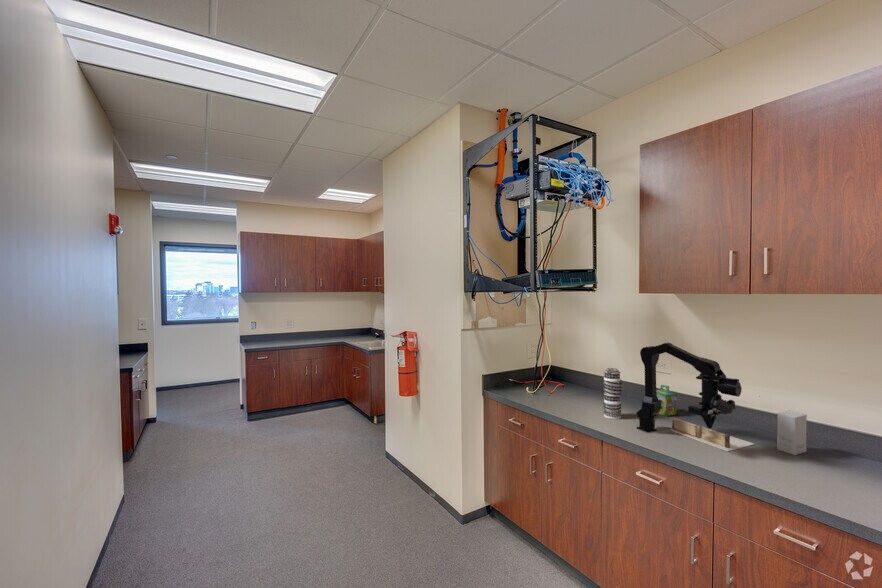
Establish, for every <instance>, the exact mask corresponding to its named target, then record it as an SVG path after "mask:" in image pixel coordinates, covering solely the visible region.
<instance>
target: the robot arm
mask: <svg viewBox="0 0 882 588" xmlns="http://www.w3.org/2000/svg"><path fill="white" fill-rule="evenodd" d="M639 351H640V352H639V354H640V359H641V361H642V364H643V366H644V398H643V400H642V403H641V408H640V409H639V410H638V411H636V412H635V413H636V416H637V418H638V419H639V420H638V421H639V422H638V423H639V424H638V425H639V426H637V427H636V429H637V430H641V431H643V432H644V433H653V432H656V431H657V432H658V429H657V428H656V420H655V417H657V415H658V414H657V413H659V412H660V411H661V409H662V406H661V403H662V400H658V398H657V395H656V390H657V364H658V362H659V358H660V355H662V354H665V353H666V354H668V355H671V356H672V357H675V358H676V359H679V360H680V361H683V362H685V363H687V364H689V365H691V366H692V367H693V368H694V369H695V370H696V371H697V372H699V375H698V376H696V377H695V379H696V380H701V391H700V392H699V393H698V395H699V396H701V401H698V404H692V405H689V406H688V407H687V408H688V409H687V410H688V413H691V414H695V415H697V416H700V417H701V418H702V419H703V421H704V424H705V425H706V428H708V429H711V430H712V428H713V425H714V424H715V421H716V419H717V417H718V416H720V415H721V414H724V415H727V414H732V413H733V411H734V410H736V401H734V400H733V399H729V400H725V399H723V398H722V395H727V396H733V397H740V396H741V394H742V385H741V383H740V379H738V378H730V377H727V375H726V374H725V372H723V370H722V369H721V365H720V363H719V362H717V361H716V360H713V359H710V358H705V357H700V356H698V355H695V354H693V353H691V352H689V351H687V350H684V349H683V348H680V347H678V346H677V345H674V344H673V343H671V342H663V343H662V344H659V345H655V346H654V345H651V346H644V347H642V348H641V349H640V350H639ZM720 393H721V394H722V395H721V394H720Z"/></svg>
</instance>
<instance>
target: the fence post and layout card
mask: <svg viewBox="0 0 882 588" xmlns="http://www.w3.org/2000/svg"><path fill="white" fill-rule="evenodd" d="M703 427H704V426H702V425H700V424H694V423H691V422H688V421H685V420H682V419H679V418H677V417H672V418H671V429H669V431H670V432H674V433H676V434H679V435H682V436H684V437H687V438H690V439H693V440H696V441H698V442H701V443H703V444H706V445H709V446H712V447H715V448H717V449H720V450H723V451H726V452H732V451H737V450H740V449H743V448H748V447H751V446H754V445H755V443H753V442H751V441H748V440H744V439H741V438H738V437H735V436H732V435H729V436H730V448H726V447H725V446H722V445H719V444H716V443H713V442H710V441H708V440H705V439H702V429H701V428H703ZM704 428H707V429H710V428H708V427H704ZM710 430H713V431H716V432H718V431H717V430H714V429H712V428H711V429H710Z"/></svg>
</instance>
